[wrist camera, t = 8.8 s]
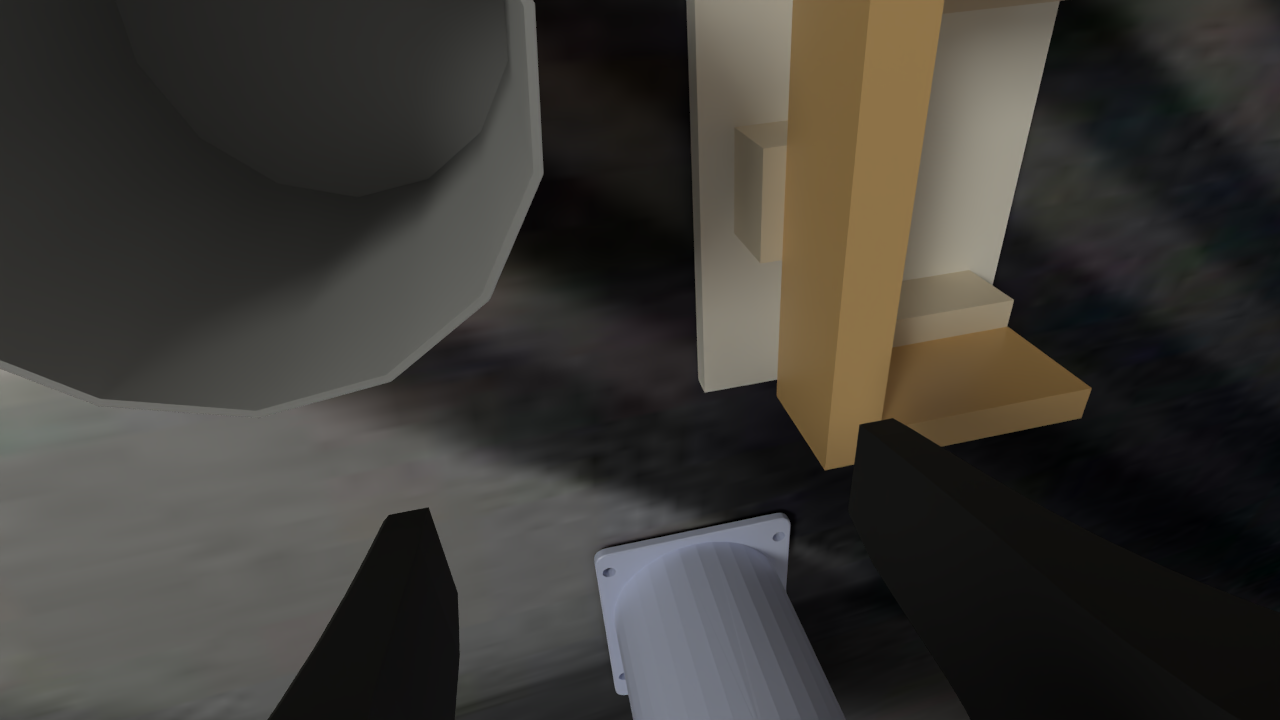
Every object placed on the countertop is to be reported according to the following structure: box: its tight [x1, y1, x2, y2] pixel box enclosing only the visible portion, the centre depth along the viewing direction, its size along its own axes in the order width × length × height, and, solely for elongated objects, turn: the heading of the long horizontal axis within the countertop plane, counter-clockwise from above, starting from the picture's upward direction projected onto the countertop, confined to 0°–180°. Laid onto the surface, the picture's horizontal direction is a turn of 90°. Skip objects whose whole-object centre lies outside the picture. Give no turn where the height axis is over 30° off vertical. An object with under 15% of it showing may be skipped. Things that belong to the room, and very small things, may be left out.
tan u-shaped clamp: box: [777, 0, 1092, 470], centre depth 16 cm, size 7×12×3 cm, turn 5°
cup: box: [0, 0, 544, 418], centre depth 11 cm, size 8×8×10 cm
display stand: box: [686, 0, 1063, 392], centre depth 19 cm, size 10×14×3 cm
